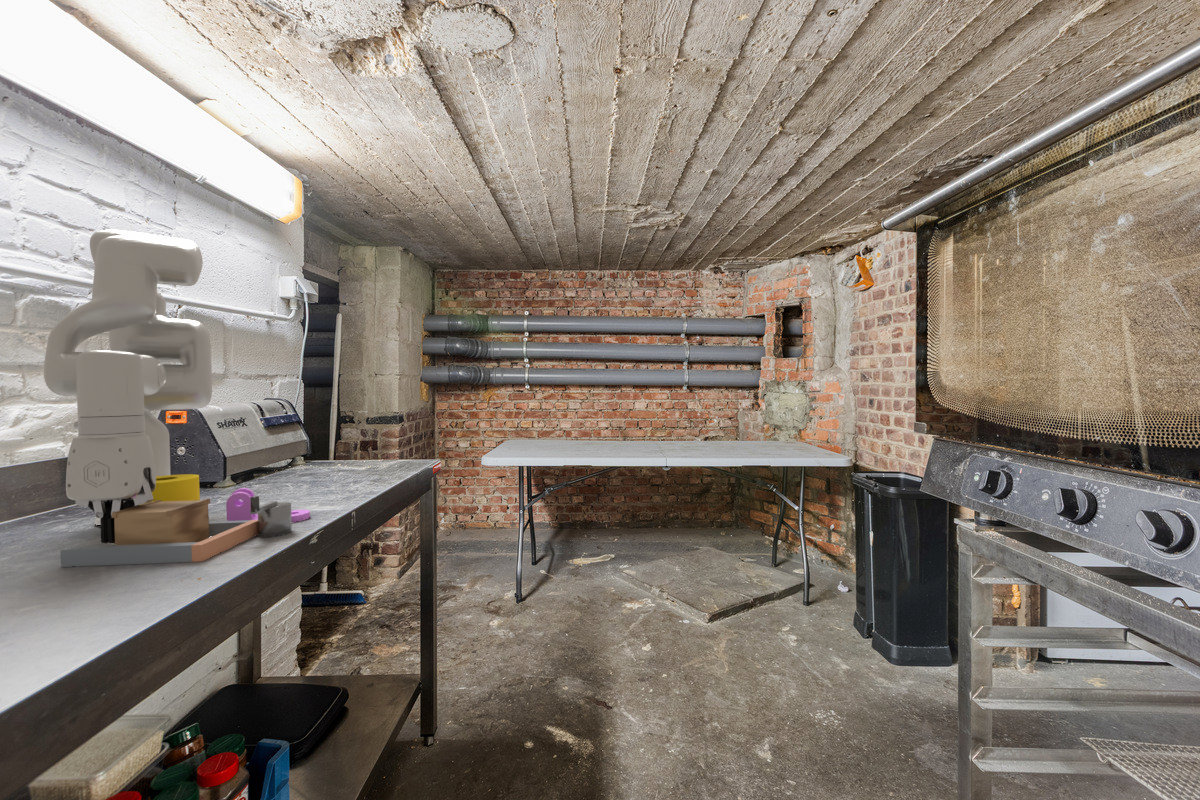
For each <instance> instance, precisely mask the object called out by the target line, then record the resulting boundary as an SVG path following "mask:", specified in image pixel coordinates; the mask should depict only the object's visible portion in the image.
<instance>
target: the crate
mask: <svg viewBox="0 0 1200 800" xmlns="http://www.w3.org/2000/svg"><path fill="white" fill-rule="evenodd" d="M209 504H211V499H210V498H204V499H200V500H194V501H162V502H161V500H157V501H153V502H149V503H146V504H142V505H138V506H135V507H131V508H127V509H124V510H120V511H116V512H113V513H112V518H114V524H115V543H114V545H135V544H162V543H189V542H200V541H203V540H205V539H208V538H209V521H210V519H209Z"/></svg>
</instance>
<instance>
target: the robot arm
mask: <svg viewBox="0 0 1200 800" xmlns="http://www.w3.org/2000/svg"><path fill="white" fill-rule="evenodd" d="M89 250H90V255H91V258H92V260H93V261H92V262H93V263H94V271H93V272H94V273H93V280H92V281H93V282H92V295H91V300H89V301H88V302H86V303H84V304H82V305H80V306H78V307H76V308H75V309H73V310H71V311H70V312H69V313H67V314H66V315H65V316H64V317H62V318H61V319H60V320H59V321H58V322H57V323H56V324H55V325H54V326H53V327H52V329H51V331H50V332H49V335H48V338H47V342H46V348H45V356H44V363H43V379H44V382H45V385H46V387H47V389H49V390H50V391H51V392H52V393H53V394H56V395H58V396H62V397H73V398H74V397H76V401H77V403H76V405H77V408H76V409H77V420H76V421H75V422H74V423H73V428H74V429H76V430H77V437H73V438H72V441H71V442H70V447H69V450H68V455H67V460H66V461H67V462H66V473H65V493H66V497H67V498H68V499H69V500H72V501H75V503H74V504H75V505H77V506H78V507H84V508H89V509H90V510H91V511H92V512H93V513H94V515H95V516H94V517H95V518H94V525H95V524H96V525H95V526H97V525H101V526H100V543H101V544H108V543H109V544H115V524H114V518H112V513H113V512H116V511H120V510H124V509H127V508H131V507H135V506H138V505H140V504H144V503H148V502H151V501H153V496H152V492H153V491H154V489H155V486H156V476H166V475H171V450H170V449H171V447H170V445H171V444H170V442H171V441H170V432H169V429H168V428H167V427H166V425H165V424H164V423H163V422H162V421H161V420H159V419H158V418H157V416H154V415H153V414H152V412H153V411H167V410H169V411H172V410H173V411H174V410H175V411H176V410H177V411H178V410H197V409H202V408H204V407H206V406H209V404H210V402H211V399H212V394H213V375H212V374H213V373H212V372H213V371H212V345H211V344H212V343H211V336H210V333H209V330H208V328H207V326H205V325H204V324H203V323H202V322H200V321H198V320H193V319H184V318H174V317H173V318H172V317H171V318H170V317H167V315H166V314H167V313H166V312H167V311H166V310H167V302H166V299H165V297H164V296H163V295H162V294H161V293H160V292H159V291H158V284H160V285H162V284H163V285H170V286H171V285H172V286H179V287H180V286H182V287H192V286H195V284H197V283H198V281H199V278H200V275H201V273H202V271H203V270H202V269H203V254H202V252H201V249H200V247H199V245H197V243H196V242H194V241H193V240H190V239H184V238H179V237H178V238H177V237H171V236H164V235H158V234H157V235H156V234H151V233H144V232H137V231H130V230H129V231H127V230H119V229H105V230H99V231H96V232H94V233H93V234H92V235H91V237H90V239H89ZM106 332H108V342H109V349H110V350H108V349H107V350H106V349H104V350H102V349H101V350H99V349H96V350H95V349H94V350H93V349H91V350H85V351H76V350H77V348H78V346H79V345H81V344H82V343H83V342H84V341H86V340H88V339H89V338H91V337H92V338H93V337H94V336H97V335H99V334H100V335H101V334H104V333H106ZM162 363H164V364H162ZM165 363H170V364H165ZM171 363H173V364H171ZM174 363H177V364H174ZM178 363H180V364H178ZM136 496H137V497H136Z"/></svg>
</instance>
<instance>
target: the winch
mask: <svg viewBox="0 0 1200 800" xmlns="http://www.w3.org/2000/svg"><path fill="white" fill-rule="evenodd" d="M250 502H251V509H250V514H258V535H257V536H258V537H259V536H261V537H260V538H273V537H272V536H275V537H280V536H284V535H287V534H289V532H290V531H291V532H292V531H293V526H292V525H293V523H292V519H291V511H292V502H289V501H283V502H278V500H271V501H269V502H266V503H263V504H261V505H260V496H259V495H256V496H253V497H250ZM291 532H290V533H291ZM286 533H287V534H286ZM283 534H284V535H283ZM279 535H280V536H279Z"/></svg>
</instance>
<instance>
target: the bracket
mask: <svg viewBox="0 0 1200 800" xmlns="http://www.w3.org/2000/svg"><path fill="white" fill-rule="evenodd" d="M253 496H255V493H254V491H253V490H252V489H250V488H248V487H242V488H238V489H236V490H234V491H233V493H231V495H230V496H229V497H228V498H227V500H226V503H225V504H226V505H225V506H226V507H225V509H226V512H225V513H226V521H238V520H258V514H250V509H251V502H250V497H253ZM310 513H311V512H310V510H309V509H293V510H292V509H291V519H292V522H294V523H297V522H296V521H300V522H302V521H301V520H304V521H306V520H305V519H307V520H309V519H310V518H311V514H310ZM309 517H310V518H309ZM308 518H309V519H308Z"/></svg>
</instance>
